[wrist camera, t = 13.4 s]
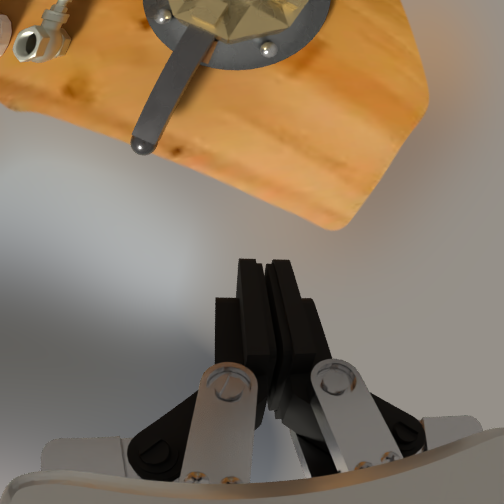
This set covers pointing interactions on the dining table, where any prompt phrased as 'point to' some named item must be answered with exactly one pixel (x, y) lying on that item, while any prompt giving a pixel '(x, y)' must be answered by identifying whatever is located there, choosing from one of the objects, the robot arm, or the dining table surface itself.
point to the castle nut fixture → (205, 51)
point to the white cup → (4, 33)
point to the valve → (44, 36)
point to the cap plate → (244, 52)
